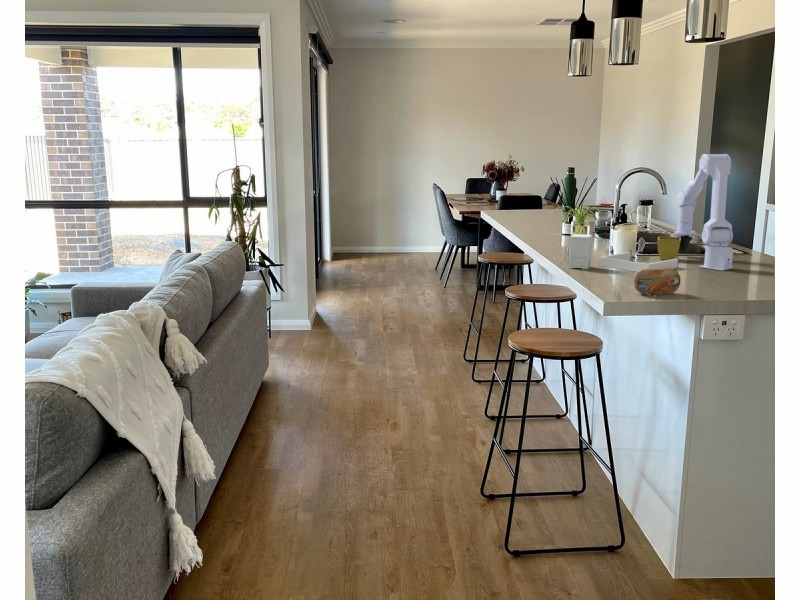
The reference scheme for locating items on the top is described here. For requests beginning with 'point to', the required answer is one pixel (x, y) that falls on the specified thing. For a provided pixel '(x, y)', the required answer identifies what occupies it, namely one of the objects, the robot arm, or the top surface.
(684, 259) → the top surface
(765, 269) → the top surface
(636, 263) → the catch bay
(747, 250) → the top surface
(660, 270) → the tin
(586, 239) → the supplement box
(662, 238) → the flower pot
